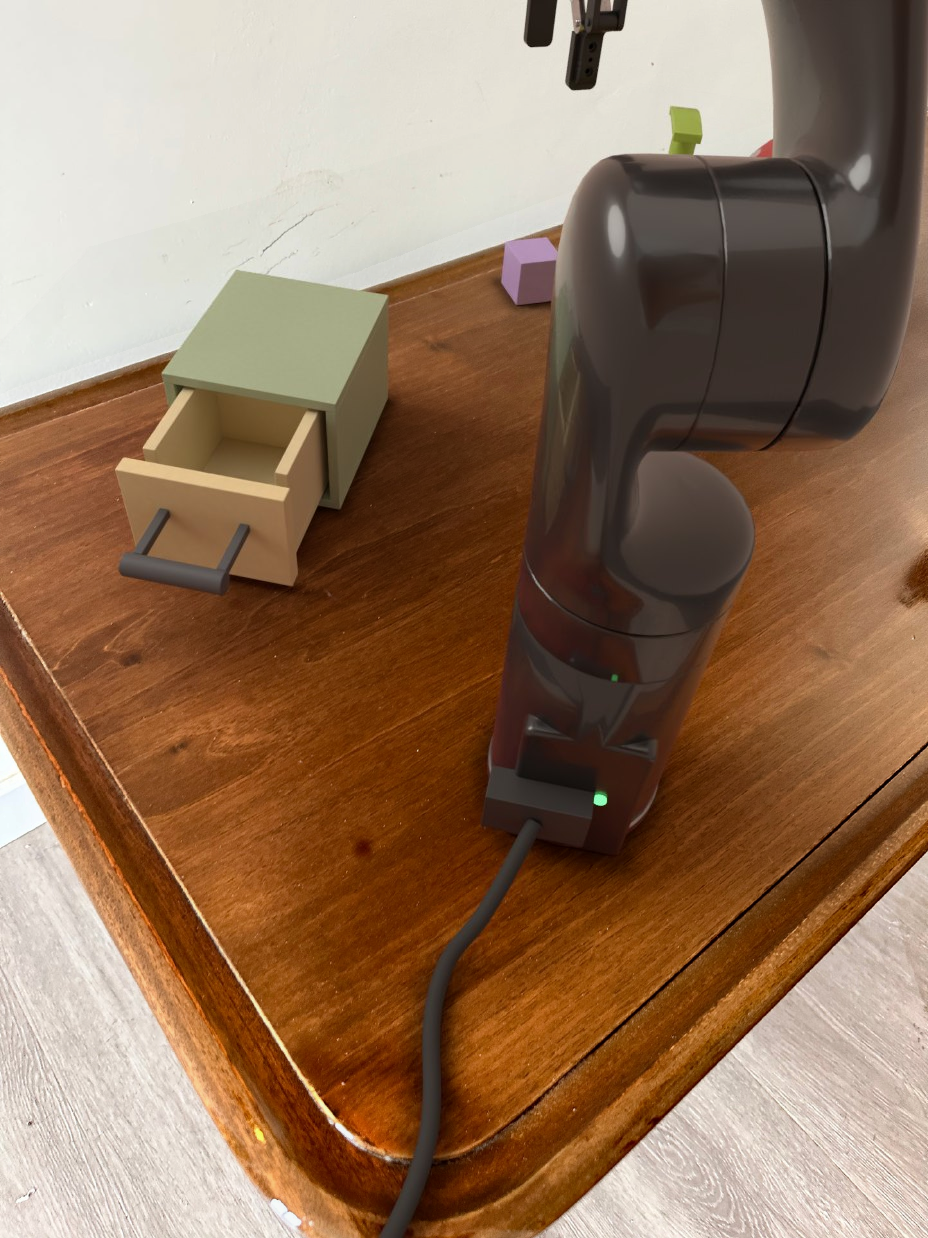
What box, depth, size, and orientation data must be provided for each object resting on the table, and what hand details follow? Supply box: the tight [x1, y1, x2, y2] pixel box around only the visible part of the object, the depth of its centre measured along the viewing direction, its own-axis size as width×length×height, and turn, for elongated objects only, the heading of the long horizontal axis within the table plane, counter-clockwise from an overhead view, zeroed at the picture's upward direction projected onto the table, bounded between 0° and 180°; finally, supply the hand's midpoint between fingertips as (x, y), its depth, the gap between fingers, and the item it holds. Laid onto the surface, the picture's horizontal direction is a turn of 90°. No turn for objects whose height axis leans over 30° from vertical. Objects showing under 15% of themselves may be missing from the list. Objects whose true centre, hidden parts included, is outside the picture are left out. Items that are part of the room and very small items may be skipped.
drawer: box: [114, 386, 329, 596], centre depth 60 cm, size 18×10×7 cm, turn 169°
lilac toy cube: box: [500, 236, 558, 306], centre depth 85 cm, size 4×4×4 cm
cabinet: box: [161, 269, 390, 510], centre depth 67 cm, size 13×11×9 cm
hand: (557, 66), depth 72 cm, fingers open, 8 cm apart
